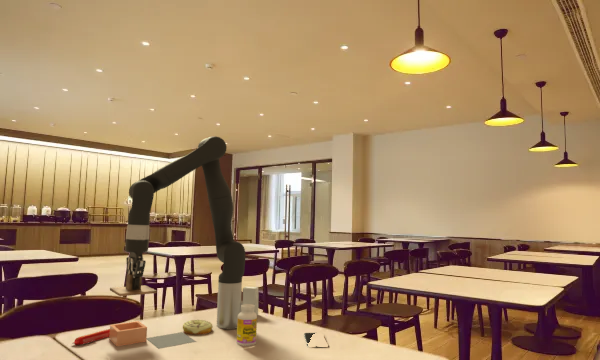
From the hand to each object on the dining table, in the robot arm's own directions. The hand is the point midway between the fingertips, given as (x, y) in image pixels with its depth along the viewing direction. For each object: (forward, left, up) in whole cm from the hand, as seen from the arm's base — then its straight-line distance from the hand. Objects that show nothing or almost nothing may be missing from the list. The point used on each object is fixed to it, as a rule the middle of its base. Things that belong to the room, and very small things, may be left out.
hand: (133, 288), depth 137 cm
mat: (-11, +7, -18) cm, 22 cm away
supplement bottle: (-31, +24, -18) cm, 44 cm away
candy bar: (+9, -8, -18) cm, 22 cm away
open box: (+1, -1, -18) cm, 18 cm away
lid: (0, 0, -1) cm, 1 cm away
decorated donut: (-23, +2, -18) cm, 30 cm away
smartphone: (-53, +35, -19) cm, 66 cm away
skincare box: (-52, -8, -18) cm, 56 cm away
